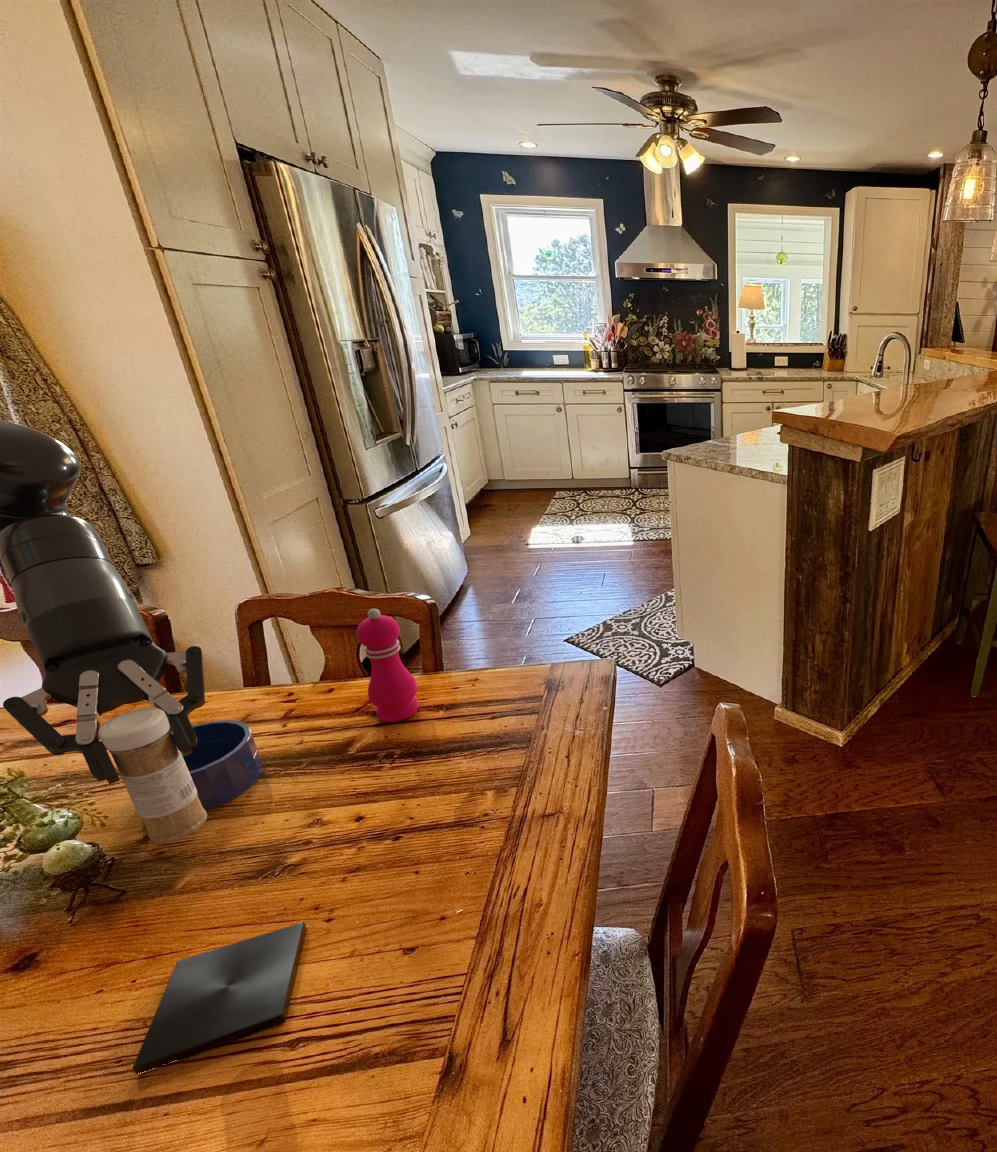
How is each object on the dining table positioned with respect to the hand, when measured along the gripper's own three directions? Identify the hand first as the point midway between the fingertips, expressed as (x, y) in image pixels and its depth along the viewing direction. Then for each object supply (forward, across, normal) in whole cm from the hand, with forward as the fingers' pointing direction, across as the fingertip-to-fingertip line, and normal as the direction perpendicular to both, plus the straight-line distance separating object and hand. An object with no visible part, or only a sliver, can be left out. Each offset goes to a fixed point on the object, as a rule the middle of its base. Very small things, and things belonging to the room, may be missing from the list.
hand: (151, 765), depth 58 cm
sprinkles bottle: (+5, 0, -8) cm, 9 cm away
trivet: (+22, +2, -12) cm, 25 cm away
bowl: (-6, -4, -40) cm, 40 cm away
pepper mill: (-4, -30, -38) cm, 49 cm away
